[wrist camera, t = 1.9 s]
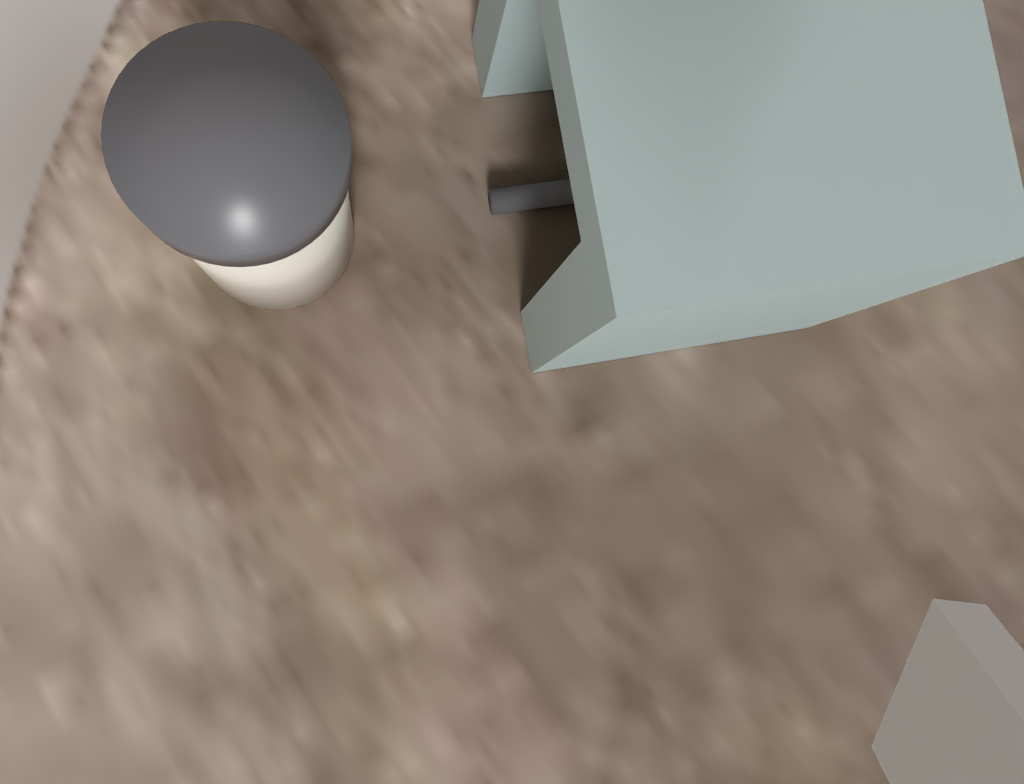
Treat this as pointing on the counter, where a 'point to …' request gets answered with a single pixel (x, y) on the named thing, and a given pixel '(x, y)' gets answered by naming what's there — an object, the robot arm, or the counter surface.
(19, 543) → the counter surface
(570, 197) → the rod
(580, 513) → the counter surface
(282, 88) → the cream lidded jar
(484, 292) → the counter surface
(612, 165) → the block
